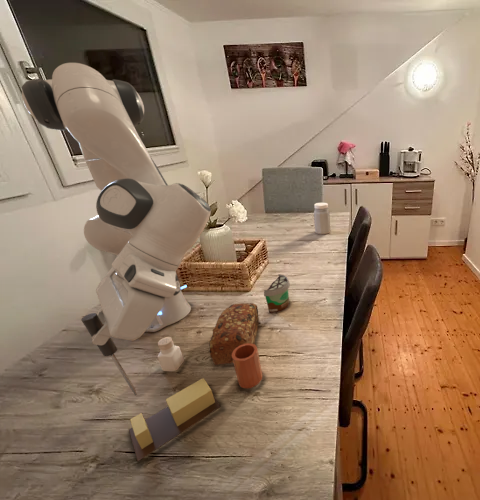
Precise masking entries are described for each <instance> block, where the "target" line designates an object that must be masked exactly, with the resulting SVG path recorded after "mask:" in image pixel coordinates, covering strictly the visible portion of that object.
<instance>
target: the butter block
mask: <svg viewBox="0 0 480 500" xmlns="http://www.w3.org/2000/svg"><path fill="white" fill-rule="evenodd" d="M213 395H214V394H213V390H212V389H211V387H210V386H209V384H208V383H207V381H206V380H205V378H204V377H202V378H201V379H199V380H197V381H195V382H193V383H192V384H190V385H188V386H186V387H185V388H183V389H181V390H180V391H178V392H176V393H174V394H172V395H171V396H169V397H167V398H166V399H165V402H166V404H167V407H169V409H170V412H171V414H172V416H173V418H174V420H175V423H176V425H177V426H179V425H181V424H182V423H184V422H185V421H187V420H188V419H190V418H192V417H193V416H195V415H196V414H198V413H199V412H201V411H203V410H204V409H206V408H207V407H209V406H210V405H212V404H213V403H215V400H214V397H215V396H214V397H213Z"/></svg>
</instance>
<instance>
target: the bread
mask: <svg viewBox="0 0 480 500" xmlns="http://www.w3.org/2000/svg"><path fill="white" fill-rule="evenodd" d="M259 322H260V319H259V309H258V305H257V304H255V303H254V302H251V303H245V302H241V303H233V304H231V305H230V306H228V307H226V308H225V309H223V310H222V312H221V313H220V315H219V316H218V319H217V321H216V322H215V323H216V324H215V326H214V327H213V328H212V335H211V338H210V340H209V343H208V345H209V347H208V352H209V356H210V358H211V360H212V363H213V365H216V366H218V365H225V364H227V365H228V364H234V363H233V359H232V352H233V351H234V350H235V348H237V347H238V346H240V345H243V344H247V343H251V344H254V345H255V343H256V337H257V334H258V329H259V324H260V323H259Z"/></svg>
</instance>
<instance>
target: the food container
mask: <svg viewBox="0 0 480 500" xmlns="http://www.w3.org/2000/svg"><path fill="white" fill-rule="evenodd" d="M277 275H278V277H277V278H276V279H275V280H274V281H272V283H271V284H270V285H269V287H268V288H267V289H264V290H263V296H264V297H265V300H266V304H267V309H268V313H269V314H277V313H281V312H283V311H285V310H286V309H287V308H289V305H290V299H289V297H290V296H289V288H290V287H291V283H290V280H289V279H288V276H286V275H284V274H280V273H278V274H277Z"/></svg>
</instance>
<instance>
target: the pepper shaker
mask: <svg viewBox="0 0 480 500" xmlns="http://www.w3.org/2000/svg"><path fill="white" fill-rule="evenodd" d="M157 346H158V348H159V351H160V352H158V354H157V360H158V362H159V365H160V367H161V370H162V371H163V372H176V371H178V370H179V369H180V367H181V366H182V364H183V363H184V361H185V359H184V355H183V353H182V350H181V347H180V346H178V345H175V343H174V341H173V339H172V337H171V336H166V337H163V338H161V339H159V340H158V341H157Z"/></svg>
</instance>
